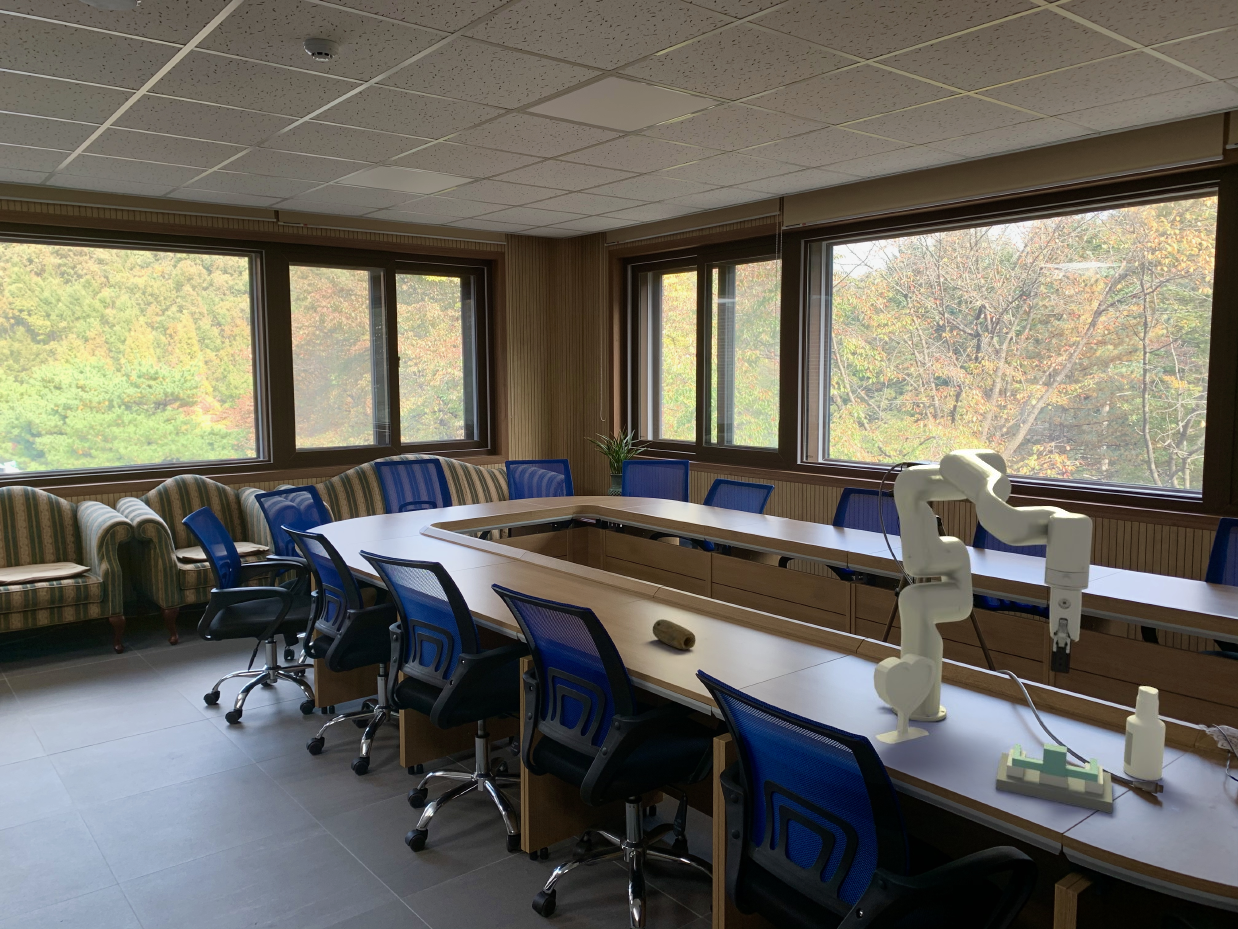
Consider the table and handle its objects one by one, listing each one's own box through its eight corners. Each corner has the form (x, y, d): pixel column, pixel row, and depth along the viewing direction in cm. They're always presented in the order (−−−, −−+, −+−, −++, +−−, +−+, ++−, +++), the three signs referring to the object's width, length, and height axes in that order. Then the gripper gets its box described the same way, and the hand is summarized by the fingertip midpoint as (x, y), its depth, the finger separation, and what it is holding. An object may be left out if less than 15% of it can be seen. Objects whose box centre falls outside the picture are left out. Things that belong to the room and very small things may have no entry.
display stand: (995, 788, 173) (996, 769, 173) (1001, 761, 186) (1002, 743, 185) (1111, 813, 164) (1113, 792, 164) (1109, 782, 176) (1111, 763, 176)
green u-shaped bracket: (1011, 767, 174) (1012, 742, 173) (1014, 749, 182) (1016, 726, 182) (1097, 784, 167) (1099, 758, 166) (1096, 764, 175) (1098, 740, 175)
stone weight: (648, 641, 267) (648, 619, 267) (665, 637, 272) (665, 616, 271) (681, 654, 256) (681, 631, 255) (699, 649, 260) (699, 627, 259)
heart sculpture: (884, 745, 193) (888, 666, 191) (868, 737, 198) (871, 659, 196) (935, 733, 200) (939, 656, 198) (918, 725, 205) (922, 649, 203)
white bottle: (1147, 766, 184) (1154, 683, 182) (1169, 781, 177) (1176, 695, 176) (1116, 766, 184) (1121, 683, 182) (1136, 781, 177) (1142, 695, 175)
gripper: (1088, 590, 159) (1082, 681, 160) (1088, 571, 174) (1082, 655, 176) (1042, 584, 162) (1036, 674, 164) (1046, 566, 177) (1040, 649, 179)
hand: (1060, 664), depth 170 cm, fingers open, 9 cm apart
